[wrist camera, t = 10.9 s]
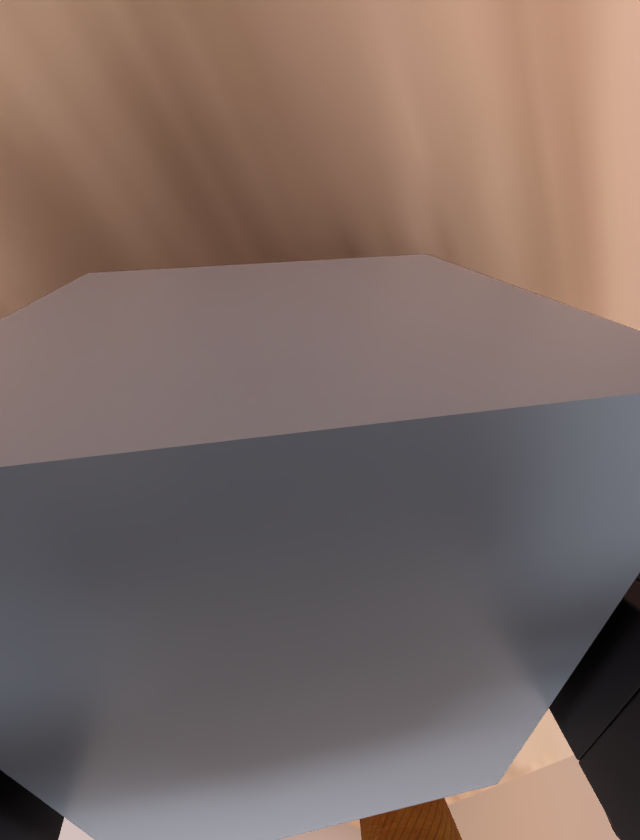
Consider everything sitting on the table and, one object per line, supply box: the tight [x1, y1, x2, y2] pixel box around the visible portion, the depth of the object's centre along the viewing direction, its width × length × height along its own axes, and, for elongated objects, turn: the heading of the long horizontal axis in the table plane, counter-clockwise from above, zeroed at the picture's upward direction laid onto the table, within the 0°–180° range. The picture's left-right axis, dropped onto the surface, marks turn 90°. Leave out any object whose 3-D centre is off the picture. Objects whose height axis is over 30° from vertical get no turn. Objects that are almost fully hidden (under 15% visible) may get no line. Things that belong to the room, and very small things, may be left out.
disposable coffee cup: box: [360, 798, 462, 840], centre depth 31 cm, size 10×10×12 cm
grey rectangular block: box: [0, 254, 640, 840], centre depth 8 cm, size 8×10×7 cm
